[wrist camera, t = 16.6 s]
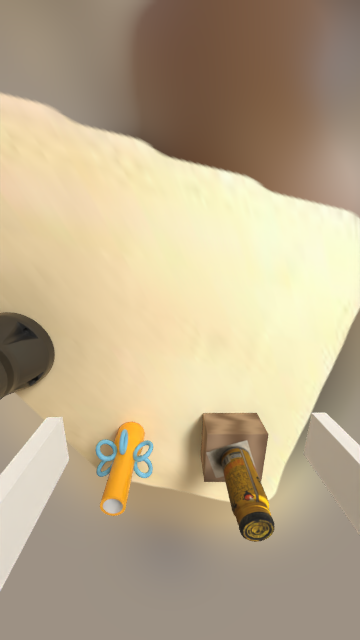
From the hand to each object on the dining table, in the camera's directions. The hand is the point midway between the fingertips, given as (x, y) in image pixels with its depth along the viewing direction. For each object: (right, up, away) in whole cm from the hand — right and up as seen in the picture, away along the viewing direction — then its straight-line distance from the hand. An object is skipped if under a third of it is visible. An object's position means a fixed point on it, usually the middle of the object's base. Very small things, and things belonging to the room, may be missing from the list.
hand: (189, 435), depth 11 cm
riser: (+11, -20, +37) cm, 44 cm away
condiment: (+10, -22, +32) cm, 40 cm away
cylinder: (-11, -19, +36) cm, 43 cm away
